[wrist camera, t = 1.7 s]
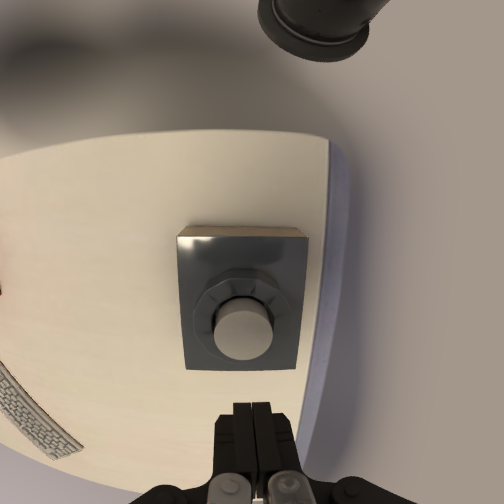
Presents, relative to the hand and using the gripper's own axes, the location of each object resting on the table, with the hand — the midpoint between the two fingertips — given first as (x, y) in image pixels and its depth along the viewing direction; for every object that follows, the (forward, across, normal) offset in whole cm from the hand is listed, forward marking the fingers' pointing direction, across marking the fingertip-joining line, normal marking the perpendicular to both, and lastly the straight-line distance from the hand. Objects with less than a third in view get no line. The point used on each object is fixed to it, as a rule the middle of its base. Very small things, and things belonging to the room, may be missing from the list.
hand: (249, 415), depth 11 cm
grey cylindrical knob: (+9, 0, 0) cm, 9 cm away
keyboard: (+15, +36, +18) cm, 43 cm away
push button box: (+14, 0, 0) cm, 14 cm away
